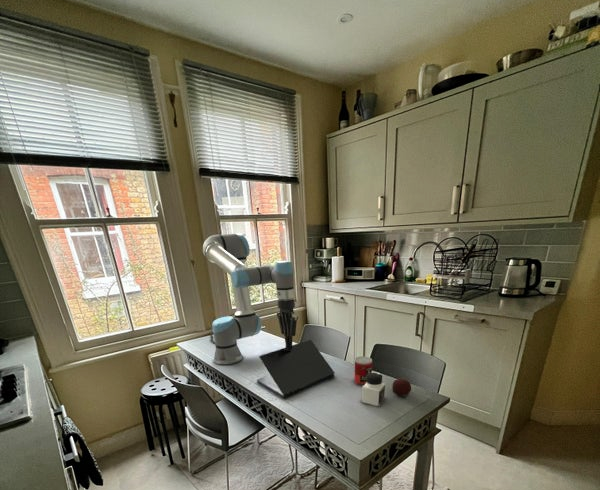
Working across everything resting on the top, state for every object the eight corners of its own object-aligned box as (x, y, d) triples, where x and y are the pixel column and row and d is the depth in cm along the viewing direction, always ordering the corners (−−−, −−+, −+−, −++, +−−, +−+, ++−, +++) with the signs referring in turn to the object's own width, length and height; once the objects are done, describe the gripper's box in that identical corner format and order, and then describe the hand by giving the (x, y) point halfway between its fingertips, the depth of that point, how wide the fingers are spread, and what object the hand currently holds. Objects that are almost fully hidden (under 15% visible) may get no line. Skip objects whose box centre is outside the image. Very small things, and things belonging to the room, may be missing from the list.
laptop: (257, 383, 148) (256, 379, 148) (305, 364, 165) (305, 361, 165) (283, 399, 133) (283, 395, 133) (334, 377, 150) (334, 373, 149)
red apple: (389, 390, 136) (390, 376, 133) (407, 390, 135) (409, 375, 132) (393, 399, 129) (395, 384, 126) (413, 399, 129) (414, 383, 126)
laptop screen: (258, 357, 139) (259, 355, 139) (310, 340, 156) (310, 339, 156) (283, 395, 133) (283, 394, 132) (334, 373, 149) (334, 372, 149)
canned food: (361, 387, 140) (362, 364, 135) (350, 380, 146) (351, 358, 142) (375, 383, 143) (376, 360, 138) (364, 376, 149) (364, 355, 145)
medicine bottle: (378, 406, 124) (380, 379, 120) (361, 402, 128) (362, 375, 123) (384, 398, 130) (386, 372, 125) (367, 394, 133) (369, 369, 129)
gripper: (270, 298, 139) (274, 348, 149) (288, 302, 130) (291, 355, 139) (283, 295, 143) (287, 344, 153) (302, 299, 134) (304, 351, 143)
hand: (289, 349), depth 146 cm, fingers closed
